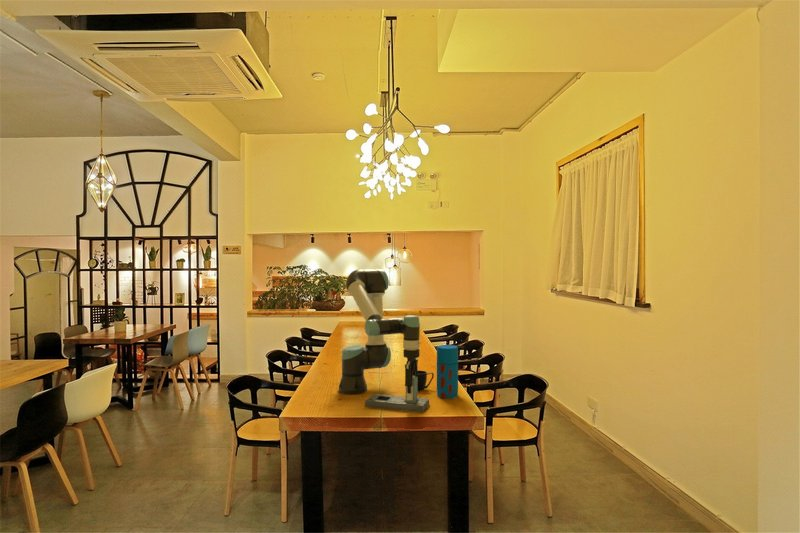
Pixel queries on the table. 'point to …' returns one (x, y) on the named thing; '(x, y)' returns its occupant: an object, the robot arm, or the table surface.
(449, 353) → the thermos
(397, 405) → the panel
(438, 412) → the table surface
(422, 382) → the mug
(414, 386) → the plug
